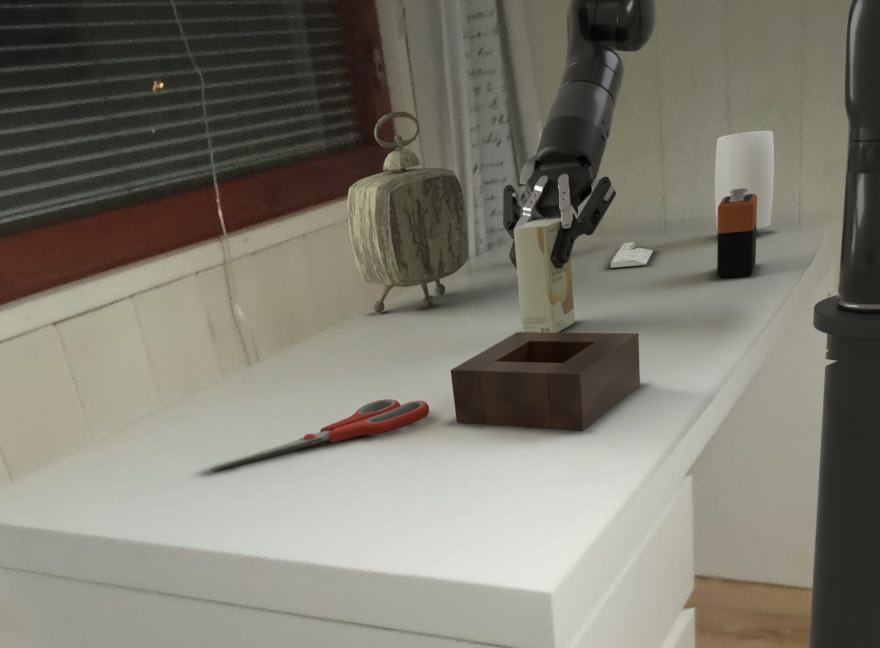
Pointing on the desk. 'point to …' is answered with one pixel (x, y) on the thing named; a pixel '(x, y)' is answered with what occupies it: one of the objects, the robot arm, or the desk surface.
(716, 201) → the cup
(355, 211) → the tabletop clock
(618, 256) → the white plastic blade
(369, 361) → the desk surface
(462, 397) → the holder
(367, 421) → the scissors
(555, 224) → the cosmetic box
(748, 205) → the battery
